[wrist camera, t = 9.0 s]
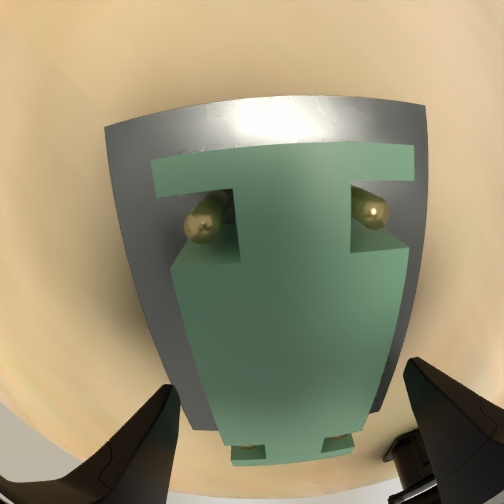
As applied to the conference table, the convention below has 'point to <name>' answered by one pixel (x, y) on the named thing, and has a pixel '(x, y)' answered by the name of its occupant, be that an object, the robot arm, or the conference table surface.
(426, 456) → the robot arm
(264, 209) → the green notched block
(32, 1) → the conference table surface
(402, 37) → the conference table surface
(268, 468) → the conference table surface
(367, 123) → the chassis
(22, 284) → the conference table surface
